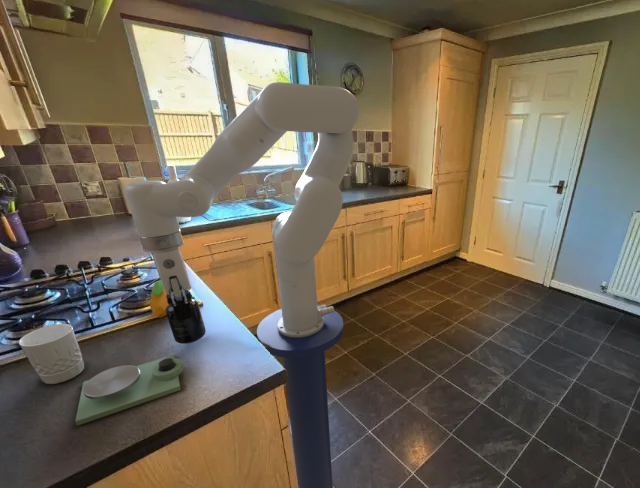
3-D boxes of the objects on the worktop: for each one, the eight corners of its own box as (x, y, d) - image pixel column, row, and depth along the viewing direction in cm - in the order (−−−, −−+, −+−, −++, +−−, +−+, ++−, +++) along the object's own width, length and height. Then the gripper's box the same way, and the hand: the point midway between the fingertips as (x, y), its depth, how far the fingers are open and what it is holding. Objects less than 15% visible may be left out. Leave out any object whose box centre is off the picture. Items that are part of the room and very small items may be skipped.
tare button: (174, 362, 71) (172, 356, 70) (175, 369, 69) (173, 363, 68) (159, 366, 70) (158, 360, 69) (160, 373, 68) (158, 367, 67)
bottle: (172, 220, 184) (159, 165, 172) (187, 218, 190) (175, 164, 178) (178, 223, 179) (165, 166, 168) (193, 220, 185) (182, 165, 173)
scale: (181, 356, 76) (179, 347, 75) (187, 387, 67) (185, 378, 66) (85, 385, 67) (80, 376, 66) (77, 426, 58) (72, 415, 57)
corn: (176, 271, 102) (172, 298, 86) (183, 292, 105) (181, 322, 89) (148, 276, 99) (139, 306, 83) (156, 298, 102) (149, 331, 86)
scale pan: (140, 362, 70) (139, 359, 70) (141, 387, 64) (139, 384, 63) (87, 378, 65) (85, 375, 65) (81, 407, 59) (80, 403, 59)
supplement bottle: (212, 332, 82) (201, 289, 77) (187, 347, 76) (173, 303, 71) (193, 325, 85) (181, 284, 80) (168, 340, 79) (153, 296, 74)
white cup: (40, 371, 71) (21, 332, 67) (88, 356, 75) (72, 319, 71) (37, 392, 65) (15, 351, 61) (88, 375, 70) (71, 336, 66)
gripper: (186, 248, 66) (206, 323, 73) (178, 228, 79) (196, 293, 86) (141, 255, 62) (167, 334, 69) (140, 233, 75) (162, 301, 82)
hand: (183, 311), depth 78 cm, fingers closed on supplement bottle, 6 cm apart
